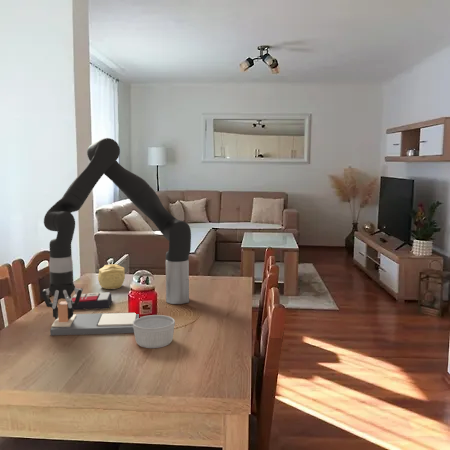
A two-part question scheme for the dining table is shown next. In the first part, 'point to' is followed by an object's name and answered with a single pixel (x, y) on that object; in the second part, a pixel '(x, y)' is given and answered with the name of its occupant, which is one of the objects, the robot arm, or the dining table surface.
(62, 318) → the upright wooden block
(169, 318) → the ramekin
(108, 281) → the yellow sugar bowl
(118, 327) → the grey rectangular board
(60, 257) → the robot arm
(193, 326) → the dining table surface
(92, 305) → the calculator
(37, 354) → the dining table surface
